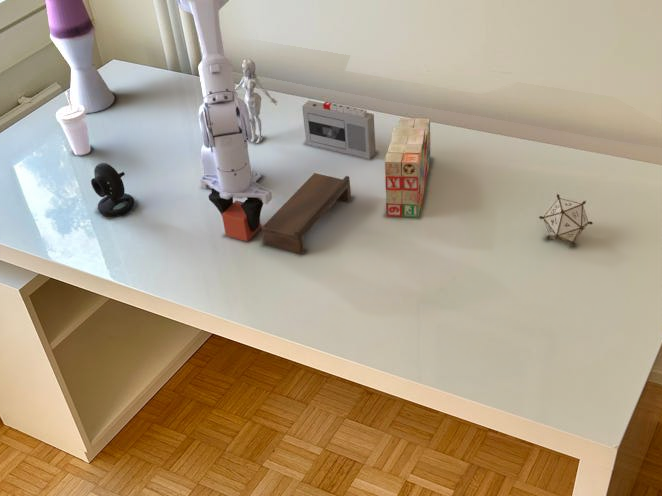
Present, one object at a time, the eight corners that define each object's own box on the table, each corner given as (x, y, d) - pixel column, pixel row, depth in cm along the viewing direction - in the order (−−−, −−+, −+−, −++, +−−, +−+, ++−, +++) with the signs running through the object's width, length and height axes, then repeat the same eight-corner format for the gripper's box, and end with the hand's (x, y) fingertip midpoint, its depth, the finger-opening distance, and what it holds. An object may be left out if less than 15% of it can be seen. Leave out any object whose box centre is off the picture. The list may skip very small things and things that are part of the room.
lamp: (63, 113, 210) (9, -62, 182) (79, 91, 218) (29, -80, 190) (105, 113, 208) (57, -64, 181) (120, 92, 216) (76, -81, 188)
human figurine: (231, 137, 195) (218, 60, 183) (240, 129, 197) (228, 52, 185) (276, 148, 190) (266, 69, 178) (285, 140, 192) (276, 61, 180)
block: (225, 235, 168) (221, 214, 165) (239, 221, 171) (236, 200, 168) (247, 241, 166) (243, 219, 163) (261, 227, 169) (257, 205, 166)
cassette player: (306, 144, 190) (301, 101, 183) (312, 138, 192) (308, 95, 185) (369, 158, 184) (367, 115, 177) (375, 152, 185) (373, 109, 178)
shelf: (264, 244, 165) (260, 222, 162) (316, 189, 177) (313, 168, 174) (300, 254, 162) (298, 232, 158) (351, 198, 174) (349, 176, 170)
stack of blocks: (400, 157, 183) (399, 103, 175) (430, 158, 182) (431, 104, 173) (386, 216, 168) (384, 160, 160) (418, 218, 167) (418, 161, 158)
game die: (561, 261, 160) (553, 244, 151) (535, 226, 163) (526, 207, 154) (604, 232, 158) (598, 213, 149) (577, 197, 161) (570, 176, 152)
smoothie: (102, 147, 197) (85, 89, 187) (83, 161, 193) (64, 102, 183) (82, 141, 200) (64, 83, 190) (62, 154, 196) (43, 96, 186)
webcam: (90, 209, 179) (77, 166, 172) (119, 192, 182) (107, 150, 175) (113, 222, 175) (101, 179, 168) (142, 205, 178) (131, 162, 171)
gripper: (186, 166, 159) (199, 228, 168) (253, 183, 153) (263, 245, 162) (208, 147, 163) (220, 208, 172) (274, 162, 157) (282, 225, 167)
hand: (242, 225), depth 168 cm, fingers closed on block, 5 cm apart
